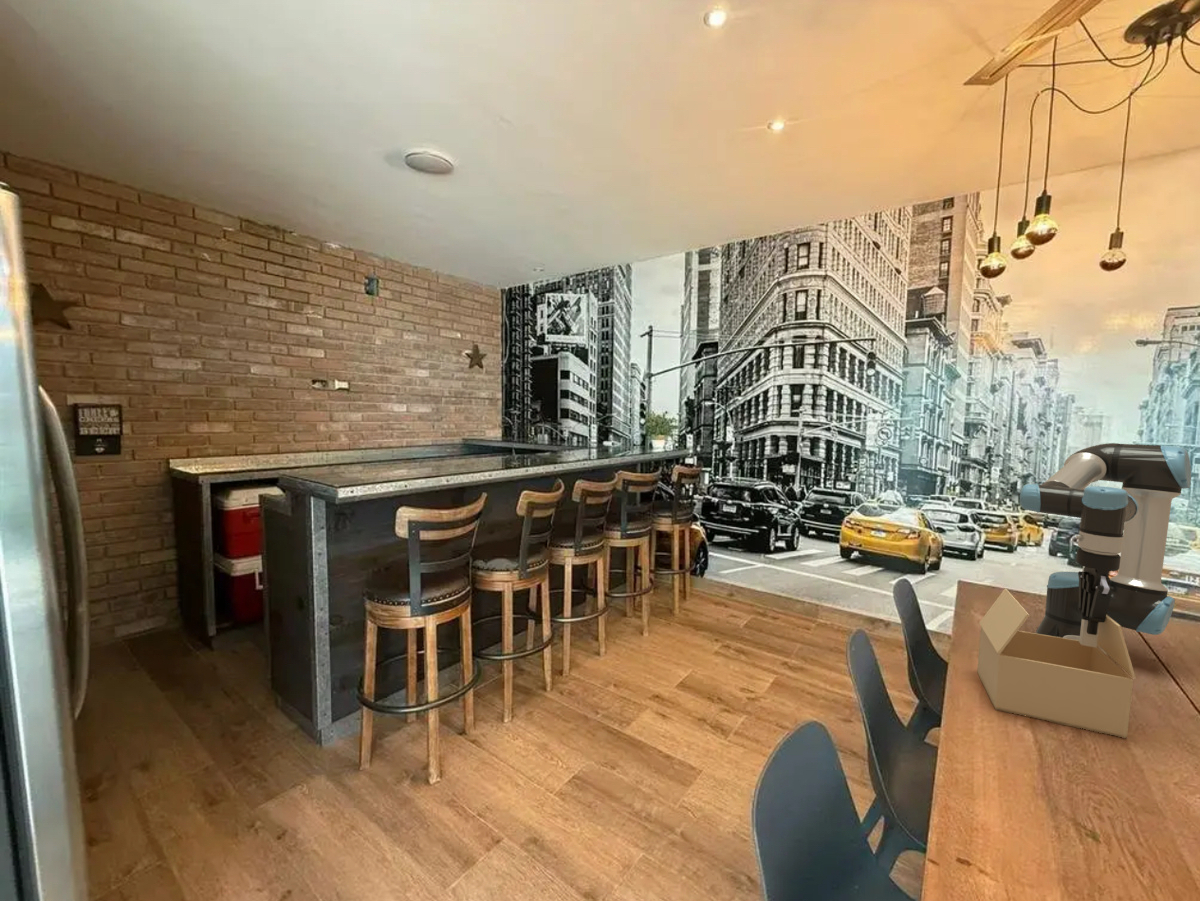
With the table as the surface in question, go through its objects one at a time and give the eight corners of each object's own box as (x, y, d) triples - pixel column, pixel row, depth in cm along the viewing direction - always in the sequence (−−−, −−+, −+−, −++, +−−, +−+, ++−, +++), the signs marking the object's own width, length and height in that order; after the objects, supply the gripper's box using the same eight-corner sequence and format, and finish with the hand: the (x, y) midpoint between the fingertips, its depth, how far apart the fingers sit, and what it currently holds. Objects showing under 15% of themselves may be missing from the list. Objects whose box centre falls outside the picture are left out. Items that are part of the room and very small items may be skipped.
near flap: (1095, 642, 131) (1097, 642, 130) (1132, 678, 113) (1135, 678, 113) (1082, 597, 131) (1084, 596, 131) (1117, 625, 114) (1120, 625, 113)
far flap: (999, 654, 124) (997, 652, 124) (981, 623, 141) (979, 622, 141) (1029, 615, 120) (1027, 614, 121) (1006, 589, 138) (1005, 588, 138)
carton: (1089, 694, 132) (1094, 643, 131) (1126, 738, 114) (1133, 679, 113) (977, 672, 143) (980, 624, 141) (995, 709, 125) (999, 655, 123)
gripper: (1068, 542, 129) (1058, 631, 131) (1089, 555, 117) (1078, 652, 119) (1107, 546, 126) (1096, 637, 128) (1133, 560, 114) (1120, 660, 116)
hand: (1087, 644), depth 124 cm, fingers closed
